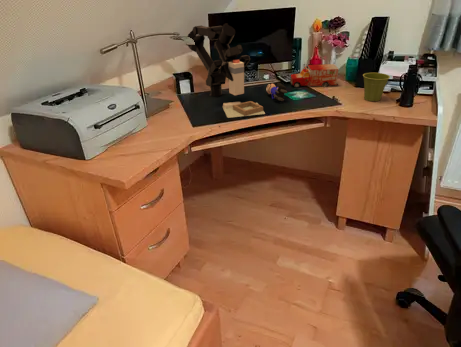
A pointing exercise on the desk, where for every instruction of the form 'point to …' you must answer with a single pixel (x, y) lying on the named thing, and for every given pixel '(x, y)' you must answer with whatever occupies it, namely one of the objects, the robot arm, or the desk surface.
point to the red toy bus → (316, 76)
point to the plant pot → (374, 85)
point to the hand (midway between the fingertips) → (237, 79)
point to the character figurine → (276, 91)
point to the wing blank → (230, 104)
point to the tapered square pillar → (236, 77)
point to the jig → (244, 109)
